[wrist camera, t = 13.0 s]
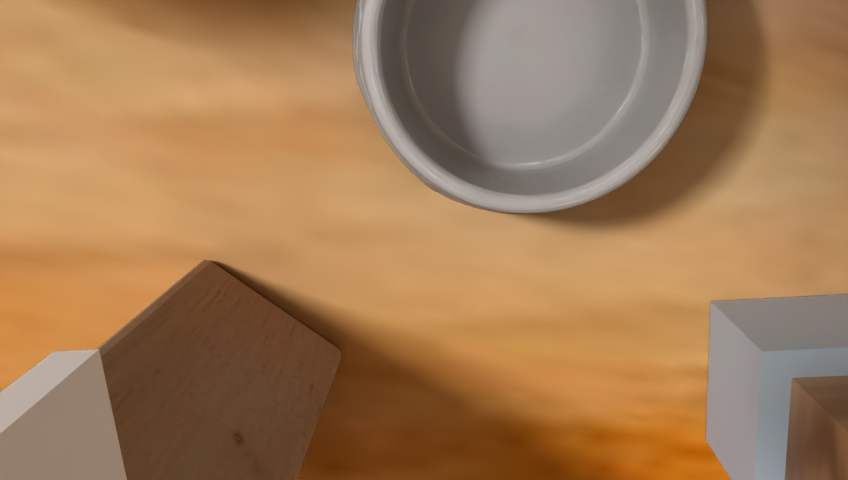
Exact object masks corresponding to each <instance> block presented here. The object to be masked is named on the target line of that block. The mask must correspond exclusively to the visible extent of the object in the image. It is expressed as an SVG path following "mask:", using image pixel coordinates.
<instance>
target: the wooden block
mask: <svg viewBox="0 0 848 480" xmlns="http://www.w3.org/2000/svg"><path fill="white" fill-rule="evenodd" d="M97 349H99V352H100V356H101V361H102V366H103V370H104V375H105V380H106V384H107V389H108V394H109V398H110V403H111V408H112V412H113V417H114V422H115V426H116V431H117V436H118V440H119V445H120V450H121V455H122V459H123V464H124V469H125V473H126V478H127V480H296V479H297V476H298V474H299V471H300V468H301V465H302V463H303V460H304V457H305V455H306V452H307V449H308V447H309V444H310V441H311V438H312V436H313V433H314V430H315V428H316V425H317V422H318V419H319V417H320V414H321V411H322V409H323V406H324V403H325V401H326V398H327V395H328V392H329V390H330V387H331V384H332V382H333V379H334V376H335V373H336V371H337V368H338V365H339V363H340V360H341V356H342V353H341V351H340V350H339V349H338V348H337V347H336V346H334V345H333V344H331V343H330V342H328V341H327V340H325V339H324V338H323V337H321V336H320V335H318V334H317V333H315V332H314V331H312V330H311V329H309V328H308V327H306V326H305V325H303V324H302V323H301V322H299V321H298V320H296V319H295V318H293V317H292V316H290V315H289V314H287V313H286V312H284V311H283V310H281V309H280V308H279V307H277V306H276V305H274V304H273V303H271V302H270V301H268V300H267V299H265V298H264V297H262V296H261V295H260V294H258V293H257V292H255V291H254V290H252V289H251V288H249V287H248V286H246V285H245V284H243V283H242V282H240V281H239V280H238V279H236V278H235V277H233V276H232V275H230V274H229V273H227V272H226V271H224V270H223V269H221V268H220V267H219V266H217V265H216V264H214V263H213V262H210V261H207V260H204V261H203V262H201V263H199V264H198V265H197V266H196V267H195V268H193V269H192V270H191V271H190V272H189V273H187V274H186V275H185V276H184V277H183V278H181V279H180V280H179V281H178V282H177V283H175V284H174V285H173V286H172V287H171V288H169V289H168V290H167V291H166V292H165V293H163V294H162V295H161V296H160V297H159V298H157V299H156V300H155V301H154V302H153V303H151V304H150V305H149V306H148V307H147V308H145V309H144V310H143V311H142V312H141V313H139V314H138V315H137V316H136V317H135V318H133V319H132V320H131V321H130V322H129V323H127V324H126V325H125V326H124V327H123V328H121V329H120V330H119V331H118V332H117V333H115V334H114V335H113V336H112V337H111V338H109V339H108V340H107V341H106V342H105V343H103V344H102V345H101V346H100V347H99V348H97Z"/></svg>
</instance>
